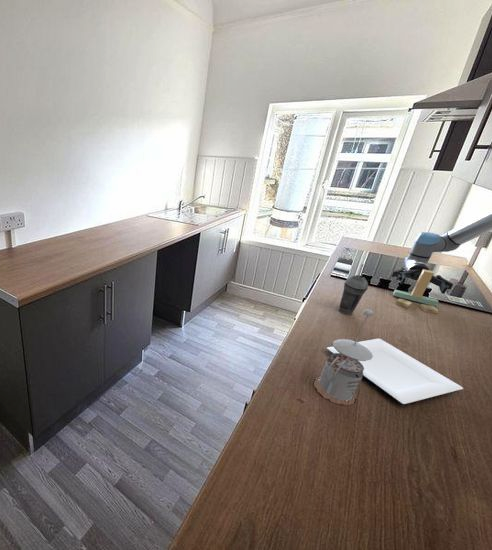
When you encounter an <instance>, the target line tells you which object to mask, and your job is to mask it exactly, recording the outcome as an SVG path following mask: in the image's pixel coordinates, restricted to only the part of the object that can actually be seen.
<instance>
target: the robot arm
mask: <svg viewBox="0 0 492 550" xmlns="http://www.w3.org/2000/svg"><path fill="white" fill-rule="evenodd" d="M491 231H492V209H490V210H489V211H486V212H485V213H483V214H481V215H479V216H477V217H475V218H473V219H471V220H469V221H467V222H465V223H463V224H461V225H459V226H457V227H455V228H453V229H452V230H451V229H450V231H448V232H445V233H444V234H442V235H440V234H438V233H434V232H429V231H427V232H425V231H421V232H420V233H419V234H418V235H417V236H416V238H415V239H414V243H413V244H412V247H411V249H410V252H409V253H408V256H406V258H404V261H403V265H404V267H402V266H401V267H400V268H397V269H396V270H393V271H392V273H391V277H392V278H395V280H396V281H399V283H400V285H404V284H405V282H406V280H407V279H410V280H413V281H418V279H419V277H420V275H421V272H422V270H423V269H425V270H430V268H429V266H428V263H429V261H430V258H431V257H432V255H433V254H434V253H447V252H448V253H449V252H451V251H452V252H453V251H455V250H457V249H459V247H461V245H464V244H466V243H468V242H470V241H472V240H474V239H476V238H479V237H481V236H483V235H485V234H487V233H489V232H491ZM429 283H430V284H431V285H432V284H433V285H434V286H436V287H438V288H439V291H440V293H441V294H442V295H445V293H446V292H447V291H448V290H452V288H453V286H454V283H453V282H452V281H450V280H448V279H447V278H444V277H443V276H441V275H440V274H437V275H433V276H432V278H431V280H430V282H429Z"/></svg>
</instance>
